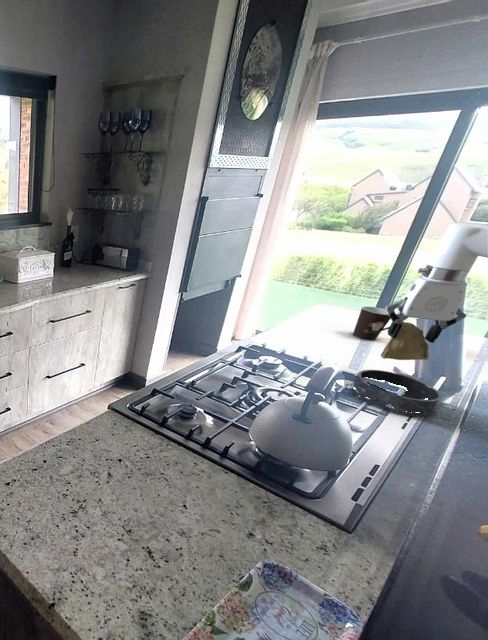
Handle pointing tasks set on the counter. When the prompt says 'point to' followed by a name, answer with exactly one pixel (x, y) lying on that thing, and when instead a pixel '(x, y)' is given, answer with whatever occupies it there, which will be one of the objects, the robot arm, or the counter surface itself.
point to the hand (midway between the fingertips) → (410, 338)
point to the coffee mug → (371, 323)
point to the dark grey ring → (401, 404)
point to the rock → (407, 344)
